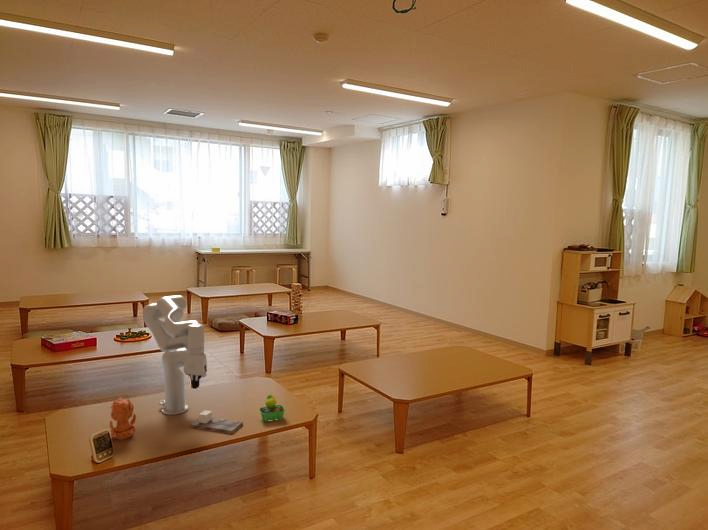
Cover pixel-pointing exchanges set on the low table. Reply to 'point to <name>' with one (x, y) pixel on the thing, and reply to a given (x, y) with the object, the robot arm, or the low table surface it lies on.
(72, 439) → the low table surface
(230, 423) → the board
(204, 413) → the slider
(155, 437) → the low table surface
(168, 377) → the robot arm
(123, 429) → the orange figurine
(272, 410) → the fruit basket
